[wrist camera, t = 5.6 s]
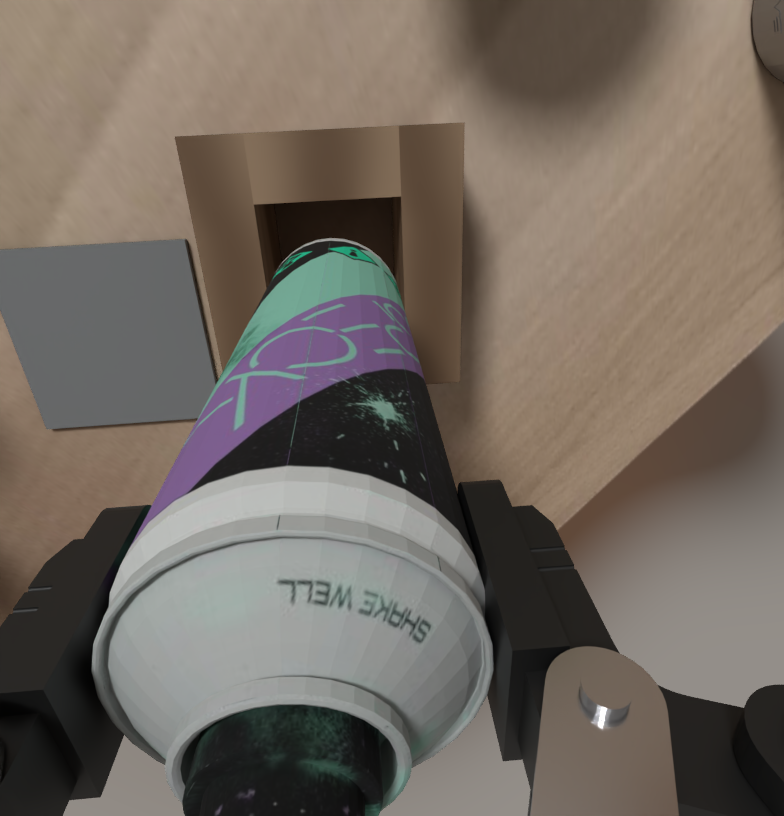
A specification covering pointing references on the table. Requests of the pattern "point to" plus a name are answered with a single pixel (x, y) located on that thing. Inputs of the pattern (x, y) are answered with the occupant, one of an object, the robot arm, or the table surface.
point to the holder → (321, 181)
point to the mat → (108, 331)
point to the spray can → (302, 567)
